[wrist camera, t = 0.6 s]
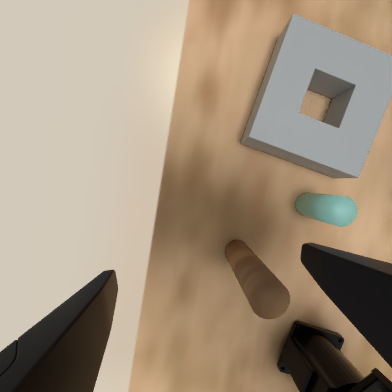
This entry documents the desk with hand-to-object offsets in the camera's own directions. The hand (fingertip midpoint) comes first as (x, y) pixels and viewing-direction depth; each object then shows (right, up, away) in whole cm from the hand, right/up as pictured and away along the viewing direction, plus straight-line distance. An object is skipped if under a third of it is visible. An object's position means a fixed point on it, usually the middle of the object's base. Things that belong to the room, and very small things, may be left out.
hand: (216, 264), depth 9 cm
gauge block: (+12, +13, +12) cm, 21 cm away
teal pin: (+12, +2, +13) cm, 18 cm away
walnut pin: (+4, -3, +13) cm, 14 cm away
